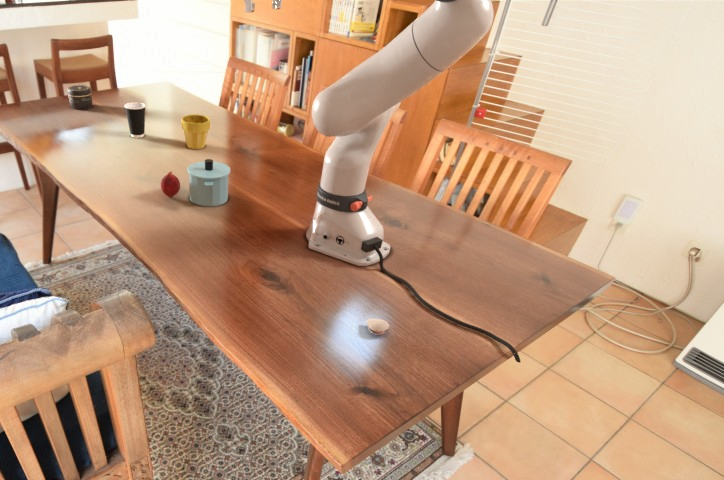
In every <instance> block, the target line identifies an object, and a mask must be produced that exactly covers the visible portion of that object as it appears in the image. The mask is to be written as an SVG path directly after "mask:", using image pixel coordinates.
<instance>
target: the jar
mask: <svg viewBox="0 0 724 480" xmlns="http://www.w3.org/2000/svg"><path fill="white" fill-rule="evenodd" d="M66 91H67V97H68V102H69V105H70V107H71V108H72V109H73V110H80V111H81V110H82V111H83V110H88V109H91V108H92V107H93V97H92V94H93V93H92V89H91V87H90V86H89V85H85V84H77V85H76V84H75V85H70V86H68V87H67V89H66Z"/></svg>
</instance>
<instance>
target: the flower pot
mask: <svg viewBox="0 0 724 480" xmlns="http://www.w3.org/2000/svg"><path fill="white" fill-rule="evenodd" d="M181 129H182V131H183V134H184V139H185V143H186V147H187V148H189V149H190V150H191V149H192V150H202V149H204V148H205V146H206V142H207V137H208V132H209V131H210V129H211V118H210V117H209V116H207V115H204V114H187V115H184V116H182V118H181Z"/></svg>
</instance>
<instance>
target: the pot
mask: <svg viewBox="0 0 724 480" xmlns="http://www.w3.org/2000/svg"><path fill="white" fill-rule="evenodd" d="M229 175H230V174H229ZM229 175H227V176H226V177H223V178H219V179H200V178H196V177H193V176H191V175H190V174H189V173H188V181H189V182H188V191H189V201H191V202H192V203H193V204H194V205H197V206H201V207H218V206H221V205H223V204H225V203H227V201H228V199H229V177H230V176H229Z"/></svg>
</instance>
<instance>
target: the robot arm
mask: <svg viewBox="0 0 724 480" xmlns="http://www.w3.org/2000/svg"><path fill="white" fill-rule="evenodd" d="M243 1H244V11H245V13H254V12H255V10H256V9H255V7H256V3H255V2H253V0H243ZM282 5H283V0H272V5H271V8H272V9H273V10H281V9H282ZM494 16H495V13H494V5H493V2H492V0H434V2H433V3H432V4H431V5H430V6H429V7H428V8H427V9H426V10H424V11H423V12H422V13H421V14H420V15H419V16H418V17H417V18H416V19H414V20H413V21H412V22H411V23H410V24H409V25H408V26H406V27H405V28H404V29H403V30H402V31H401V32H400V33H399V34H397V35H396V36H395V37H394V38H393V39H391V40H390V42H389V43H387V44H386V45H384V46H383V47H382V48H381V49H380V50H379V51H377V52H376V53H374V54H373V55H371V56H369V57H368V58H366V59H365V60H364V61H362V62H361V63H359V64H358V65H357V66H355V67H354V68H353V69H351V70H350V71H349V72H347V73H346V74H344V75H343V76H342V77H340V78H339V79H337V81H335V82H334V83H332V84H331V85H329V86H328V87H326V88H325V89H324V88H323V90H321V91H320V92H319V93H318V94H317V95H316V96H315V98H314V100H313V102H312V106H311V121H312V123H313V126H314V127H315V129H316V130H317V132H318V133H319V134H321V135H322V136H324V137H328V138H329V137H331V138H334V140H333V142H332V143H331V144H330V146H329V147H328V148H327V149H326V151H325V153H324V158H323V163H322V170H321V177H320V182H319V183H318V185H317V190H316V195H315V196H316V197H315V198H316V204H315V207H314V212H313V215H312V218H311V221H310V223H309V226H308V228H307V230H306V232H305V237H306V240H307V241H308V245H307V247H308V248H309V249H310V250H312V251H315V252H318V253H321V254H323V255H327V256H330V257H332V258H335V259H338V260H340V261H343V262H347V263H349V264H352V265H354V266H357V267H367V266H371V265H372V266H373V265H374V264H376V263H378V262H379V268H380V271H381V272H382V273H383V274H384V275H386V276H388V277H390V278H391V279H392V280H395V281H397V282H399V283H401V284H403V285H404V286H405V287H407V288H408V290H410V292H411V293H412V294H413V296H414V297H415V298H416V299H417V300H418V302H420V304H422V305H424V306H425V307H427V308H428V309H429V310H431V311H432V312H434V313H435V314H437V315H438V316H441V317H443V318H445V319H447V320H448V321H451V322H453V323H454V324H456V325H459V326H462V327H464V328H467V329H469V330H473V331H476V332H478V333H480V334H483V335H485V336H487V337H489V338H490V339H492V340H494V341H496V342H498V343H499V344H501V345H503V346H505V347H506V348H507V349H508V350H509V351H510V352H511V354H512V355H513V358H514V360H515V362H517V363H521V358H520V356H519V353H518V351H517V350H516V348H515V347H514V346H513V345H512V344H511V343H509V342H508V341H506V340H504V339H503V338H501V337H499V336H497V335H495V334H493V333H492V332H490V331H488V330H487V329H484V328H481V327H478V326H476V325H473V324H469V323H467V322H464V321H462V320H459V319H457V318H455V317H453V316H451V315H449V314H448V313H446V312H443V311H442V310H440V309H438V308H436V307H434V305H431V304H430V303H429V302H428V301H426V300H425V299H424V298H423V297H421V295H420V294H419V293H418V292H417V290H416V289H415V288H414V287H413V286H412V285H411V284H410V283H409V282H408V281H407V280H405V279H403V278H402V277H399V276H397V275H394V274H391V273H390V272H388V271H387V269H385V267H384V259H385V258H386V257H388V256H389V254H390V251H391V245H390V244H389V243H388V242H386V241H384V239H385V229H384V226H383V224H382V223H381V222H380V220H379V219H378V218H377V217H376V215H375V214H374V212H373V211H372V210H371V208H370V207H369V206H368V205H369V202H371V201H372V200H373V197H374V195H370V196H368V194H367V189H366V184H367V180H368V176H369V173H370V168H371V164H372V160H373V157H374V154H375V152H376V150H377V147H378V145H379V144H380V141H381V139H382V137H383V135H384V132H385V130H386V128H387V126H388V125H389V122H390V121H391V119H392V118H393V116H394V115H395V113H396V112H397V111H398V109H399V108H400V106H401V105H402V102H403V101H405V100H406V99H408V98H410V97H412V96H413V95H415V94H416V93H418V92H419V91H421V89H423V88H424V87H425V86H427V85H429V84H430V83H431V82H432V81H434V80H435V79H437V77H440V75H442V74H443V73H444V72H446V71H447V70H448V69H450V68H451V67H452V66H454V65H455V64H456V63H457V62H458V61H459V60H461V59H462V58H463V57H465V55H467V54H468V53H469V52H470V51H471V50H472V49H473V48H474V47H475V46H476V45H477V44H478V43H480V41H481V40H482V39H483V38H484V37H485V36H486V35H487V34H488V32H489V31H490V30H491V28H492V25H493V22H494ZM514 353H515V354H514Z"/></svg>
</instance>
